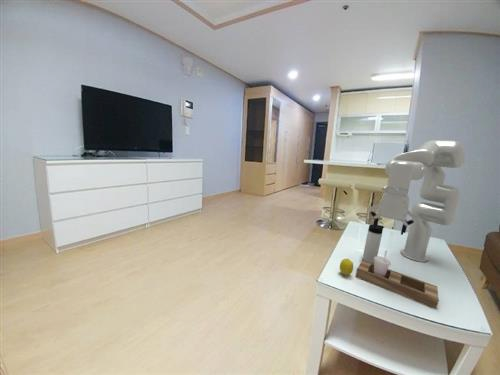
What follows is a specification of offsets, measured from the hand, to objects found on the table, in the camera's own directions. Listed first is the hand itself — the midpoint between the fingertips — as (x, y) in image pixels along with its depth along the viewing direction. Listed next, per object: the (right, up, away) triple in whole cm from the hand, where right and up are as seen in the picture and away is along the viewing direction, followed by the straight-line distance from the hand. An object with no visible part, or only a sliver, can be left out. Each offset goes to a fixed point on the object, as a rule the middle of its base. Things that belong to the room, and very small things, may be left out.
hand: (388, 230), depth 92 cm
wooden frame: (+3, -24, +1) cm, 24 cm away
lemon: (-16, -22, +6) cm, 28 cm away
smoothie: (-2, -23, +4) cm, 24 cm away
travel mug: (+3, -20, +20) cm, 29 cm away
